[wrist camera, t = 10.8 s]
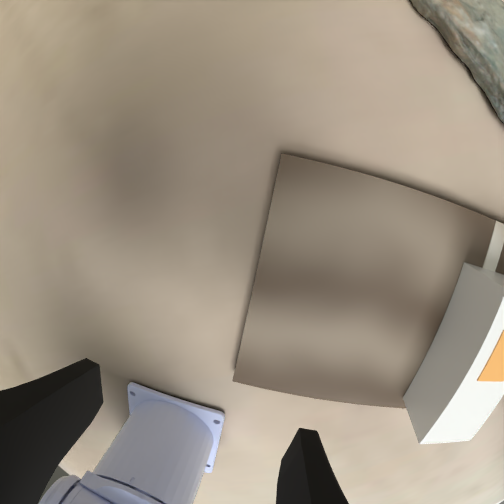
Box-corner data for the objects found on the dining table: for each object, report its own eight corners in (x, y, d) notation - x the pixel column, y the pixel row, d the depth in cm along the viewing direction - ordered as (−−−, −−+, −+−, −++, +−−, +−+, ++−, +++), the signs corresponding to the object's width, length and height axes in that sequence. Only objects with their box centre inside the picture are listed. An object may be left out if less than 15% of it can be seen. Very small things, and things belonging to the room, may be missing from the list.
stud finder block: (449, 400, 16) (470, 441, 12) (402, 398, 17) (419, 445, 12) (509, 276, 14) (551, 303, 9) (464, 262, 14) (507, 290, 10)
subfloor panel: (454, 401, 18) (458, 409, 17) (235, 372, 19) (232, 381, 18) (527, 236, 14) (536, 239, 13) (282, 154, 15) (281, 153, 14)
